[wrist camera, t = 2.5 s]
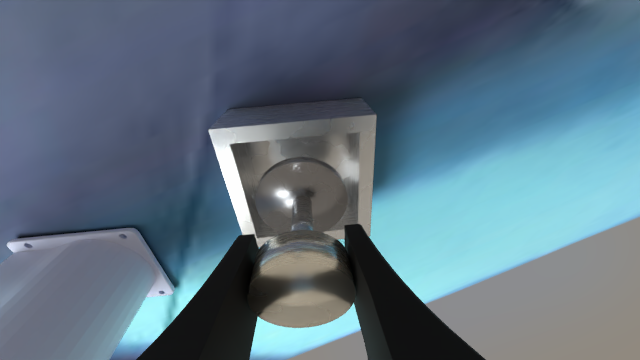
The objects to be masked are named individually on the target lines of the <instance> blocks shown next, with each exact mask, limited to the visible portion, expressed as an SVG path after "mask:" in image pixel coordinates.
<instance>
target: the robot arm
mask: <svg viewBox="0 0 640 360" xmlns="http://www.w3.org/2000/svg"><path fill="white" fill-rule="evenodd" d="M344 231H345V249H346V251H347V253H348V257H349V261H350V266H351V271H352V275H353V280H354V285H355V290H356V296H355V300H354V304H355V308H356V312H357V316H358V320H359V323H360V327H361V331H362V335H363V338H364V342H365V347H366V351H367V355H368V360H485V359H484V358H483V357H482V356H481V355H479V354H478V353H477V352H476V351H475V350H474V349H473V348H471V347H470V346H469V345H468V344H467V343H466V342H465V341H463V340H462V339H461V338H460V337H459V336H458V335H457V334H456V333H454V332H453V331H452V330H451V329H449V327H448V326H447V325H446V324H444V323H443V322H442V321H441V320H440V319H439V318H438V317H437V316H436V315H435V314H434V313H433V312H432V311H431V310H430V309H429V308H428V307H427V306H426V305H425V304H424V303H423V302H422V301H421V300H420V299H419V298H418V297H417V296H416V295H415V294H414V293H413V292H412V290H411V289H410V288H409V287H408V286H407V285H406V284H405V283H404V282H403V280H402V279H401V278H400V277H399V276H398V275H397V273H396V272H395V271H394V270H393V269H392V267H391V266H390V265H389V264H388V262H387V261H386V260H385V259H384V257H383V256H382V255H381V253H380V252H379V251H378V249H377V248H376V247H375V245H374V244H373V242H372V241H371V239H370V238H369V236H368V235H367V233H366V232H365V230H364V229H363V227H362V225H360V224H351V225H344ZM7 246H8V248H9V249H10V250H11V251H13V252H14V254H12V255H11V256H10V257H9V258H7V259H6V260H5V261H3V262H2V263H1V264H0V360H109V359H110V358H111V356H112V354H113V352H114V351H115V349H116V347H117V346H118V344H119V342H120V341H121V339H122V337H123V335H124V334H125V332H126V330H127V329H128V327H129V325H130V324H131V322H132V320H133V318H134V317H135V315H136V313H137V312H138V310H139V308H140V307H141V305H142V303H143V301H144V300H145V298H146V297H154V296H164V295H171V294H173V293H174V291H175V288H174V286H173V285H172V283H171V281H170V280H169V278H168V277H167V275H166V273H165V272H164V270H163V269H162V267H161V266H160V264H159V262H158V261H157V259H156V258H155V256H154V255H153V253H152V251H151V250H150V248H149V247H148V245H147V244H146V242H145V240H144V239H143V237H142V236H141V234H140V233H139V231H138V230H136V229H134V228H122V229H112V230H101V231H91V232H81V233H70V234H60V235H50V236H39V237H29V238H19V239H12V240H11V241H9V242H8V243H7ZM258 250H259V248H258V245H257V241H256V238H255V235H254V234H249V235H239V236H238V237H237V239H236V240H235V242H234V243H233V244H232V246H231V247H230V249H229V250H228V252H227V253H226V254H225V256H224V257H223V259H222V260H221V262H220V263H219V264H218V266H217V267H216V268H215V270H214V271H213V272H212V274H211V275H210V276H209V278H208V279H207V280H206V282H205V283H204V284H203V286H202V287H201V288H200V289H199V291H198V292H197V293H196V294H195V296H194V297H193V298H192V299H191V300H190V302H189V303H188V304H187V305H186V307H185V308H184V309H183V310H182V311H181V312H180V314H179V315H178V316H177V317H176V318H175V319H174V320H173V322H172V323H171V324H170V325H169V326H168V327H167V328H166V329H165V330H164V331H163V333H162V334H161V335H160V336H159V337H158V338H157V339H156V340H155V341H154V342H153V343H152V344H151V345H150V346H149V347H148V348H147V349H146V350H145V351H144V352H143V353H142V354H141V355H140V356H139V357H138V358H137V359H136V360H249V358H250V352H251V347H252V342H253V337H254V332H255V327H256V322H257V317H258V316H257V315H256V314H255V313H254V312H253V311H252V310H251V308H250V306H249V304H248V299H247V295H248V290H249V285H250V280H251V275H252V271H253V266H254V261H255V256H256V254H257V252H258Z"/></svg>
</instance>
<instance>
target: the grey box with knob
mask: <svg viewBox="0 0 640 360" xmlns="http://www.w3.org/2000/svg"><path fill="white" fill-rule="evenodd" d="M376 117H377V114H376V113H375V112H374V111H373V110H372V109H371V108H370V107H369V106H368V105H367V103H366V102H365V101H364V100H363V99H362V98H351V99H340V100H328V101H317V102H306V103H294V104H283V105H272V106H260V107H249V108H238V109H228V110H227V111H226V112H225V113H224V114H223V115H222V116H221V117H220V118H219V119H218V120H217V121H216V122H215V123H214V124H213V125H212V126H211V127H210V128H209V129H208V131H209V134H210V137H211V140H212V143H213V146H214V149H215V152H216V155H217V158H218V161H219V164H220V167H221V170H222V173H223V176H224V179H225V182H226V185H227V188H228V191H229V194H230V198H231V201H232V204H233V207H234V210H235V213H236V216H237V219H238V222H239V225H240V228H241V231H242V234H243V235H249V234H254V235H255V238H256V241H257V245H258V247H261V246H262V245H263V244H264V243H265V242H266V241H268V240H269V239H271V238H272V237H274V236H277V235H279V234H282V233H280V232H277V231H275V230H274V229H272V228H271V227H269V226H268V225H267V224H266V223H265V222H264V221H263V220H262V218H261V217H260V215H259V213H258V211H257V208H256V204H255V197H256V191H257V188H258V185H259V182H260V180H261V178H262V176H263V175H264V173H265V172H266V171H267V170H268V169H269V168H270V167H272V166H273V165H275V164H276V163H278V162H280V161H283V160H285V159H289V158H294V157H310V158H315V159H318V160H321V161H323V162H326V163H327V164H329V165H330V166H332V167H333V168H334V169H335V170H336V171H337V172H338V173H339V174H340V176H341V177H342V179H343V181H344V184H345V187H346V191H347V195H348V204H347V208H346V211H345V213H344V215H343V217H342V218H341V219H340V221H339V222H338V223H337V224H336V225H334V226H333V227H332V228H330V229H329V230H327V231H325V232H323V233H325V234H328V235H330V236H332V237H334V238H335V239H345V231H344V225H351V224H360V225H362V227H363V229H364V230H365V232H366V233H367V235H368V236H370V228H371V209H372V191H373V172H374V154H375V136H376Z"/></svg>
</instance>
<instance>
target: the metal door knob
mask: <svg viewBox="0 0 640 360" xmlns="http://www.w3.org/2000/svg"><path fill="white" fill-rule="evenodd" d="M255 204H256V208H257V211H258V213H259V215H260V217H261V218H262V220H263V221H264V222H265V223H266V224H267V225H268V226H269V227H271V228H272V229H274V230H275V231H277V232H280V233H282V234H279V235H277V236H274V237H272V238H271V239H269V240H268V241H266V242H265V243H264V244H263V245H262V246H261V247H260V248H259V250H258V252H257V254H256V256H255V261H254V266H253V271H252V275H251V280H250V285H249V290H248V295H247V299H248V304H249V306H250V308H251V310H252V311H253V312H254V313H255V314H256V315H257V316H258V317H260V318H261V319H263V320H265V321H267V322H269V323H272V324H275V325H279V326H284V327H292V328H304V327H313V326H318V325H322V324H325V323H328V322H331V321H333V320H335V319H337V318H339V317H340V316H342V315H343V314H344V313H346V312H347V311H348V310H349V309H350V307H351V306H352V304H353V303H354V300H355V296H356V290H355V285H354V280H353V275H352V271H351V266H350V261H349V257H348V253H347V251H346V249H345V247H344V246H343V245H342V244H341V243H340V242H339V241H338V240H337V239H335V238H334V237H332V236H330V235H328V234H325V233H323V232H325V231H327V230H329V229H330V228H332V227H333V226H334V225H336V224H337V223H338V222H339V221H340V219H341V218H342V217H343V215H344V213H345V211H346V208H347V204H348V195H347V191H346V187H345V184H344V181H343V179H342V177H341V176H340V174H339V173H338V172H337V171H336V170H335V169H334V168H333V167H332V166H330V165H329V164H327V163H326V162H323V161H321V160H318V159H315V158H310V157H294V158H289V159H285V160H283V161H280V162H278V163H276V164H275V165H273V166H272V167H270V168H269V169H268V170H267V171H266V172H265V173H264V175H263V176H262V178H261V180H260V182H259V185H258V188H257V191H256V197H255Z"/></svg>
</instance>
